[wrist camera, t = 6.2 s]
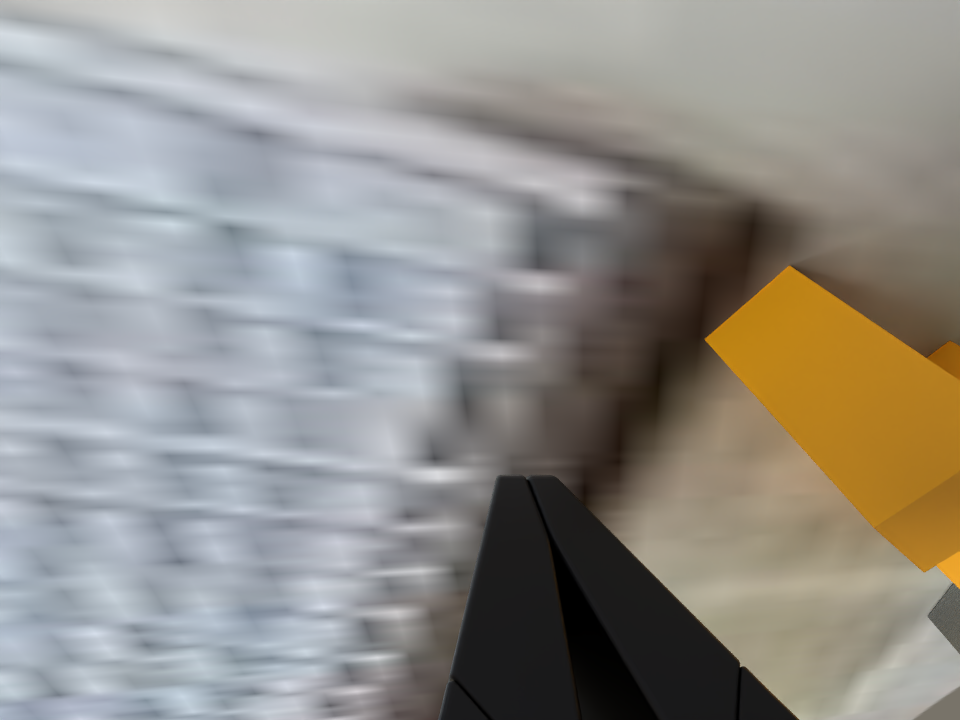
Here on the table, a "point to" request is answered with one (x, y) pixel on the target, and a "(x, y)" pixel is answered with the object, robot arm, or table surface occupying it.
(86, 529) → the table surface
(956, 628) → the rail
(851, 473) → the pipe clamp
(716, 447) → the table surface
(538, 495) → the robot arm
